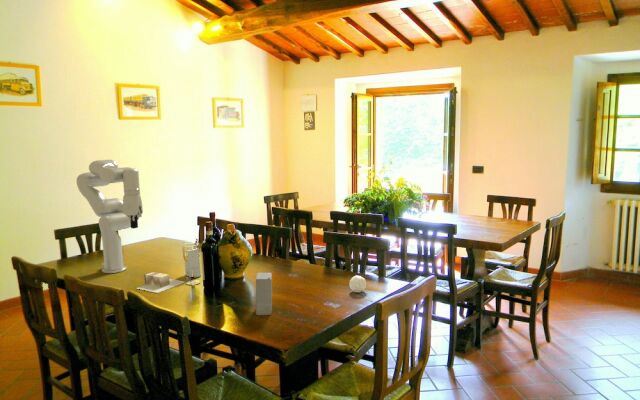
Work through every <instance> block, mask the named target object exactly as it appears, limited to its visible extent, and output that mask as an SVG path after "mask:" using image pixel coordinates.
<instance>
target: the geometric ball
mask: <svg viewBox="0 0 640 400" xmlns="http://www.w3.org/2000/svg"><path fill="white" fill-rule="evenodd" d="M348 286H349V288H350V290H351V291H353V292H354V293H359V294H360V293H361V292H363V291H364V290H365V289H366V288H367V281H366V279H365V278H364V277H363V276H361V275H354V276H352V277H351V279H350V280H349V285H348Z"/></svg>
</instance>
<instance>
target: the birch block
mask: <svg viewBox="0 0 640 400" xmlns="http://www.w3.org/2000/svg"><path fill="white" fill-rule="evenodd" d="M143 276H144V285H146V284H147V285H152V286H158V287H165V286H167V285H170V279H171V278H170V274H168V273H167V274H166V273H163V272H162V273H160V272H156V271H155V272H154V271H150V272H148V273H144V274H143Z"/></svg>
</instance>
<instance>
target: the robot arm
mask: <svg viewBox="0 0 640 400" xmlns="http://www.w3.org/2000/svg"><path fill="white" fill-rule="evenodd" d="M88 170H89V172H83V173H80V174H78V175H77V177H76V187H77V188H78V191H79V193H80V194H81V195H82V196H83V197H84V198H85V200H86V201H87V202H88V204H89V206H90V207H91V209H92V211H93V213H94V214H95V215H96V216H97V217H99V219H98V226H99V227H98V228H99V230H100V234H101V241H102V250H103V251H102V252H103V262H101V266H103V268H102V269H101V272H102V273H103V274H115V273H116V274H117V273H121V272H124V271H127V267H128V266H127V265H124V257H123V247H122V245H123V244H122V238H121V236H120V235H119V234H118V232H117V231H121V230H126V229H129V228H131V229H138V228H139V222H138V221H139V219H140V218H143V216H142V214H143V211H144V210H143V201H142V197H141V191H140V190H141V189H140V177H139V170H138V169H137V168H132V167H130V166H129V167H128V166H127V167H118V164H117V162H116V161H115V160H113V159H100V160H99V159H98V160H93V161H92V162H90V164H89V165H88ZM118 183H122V184H123V196H122V197H123V198H122V199H120V198H116V197H115V198H113V197H112V198H106V197H105V195H104V194H103V193H102V192H101V190H99V189H96V188H98V187H106V186H108V185H110V184H118ZM95 187H96V188H95Z"/></svg>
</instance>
